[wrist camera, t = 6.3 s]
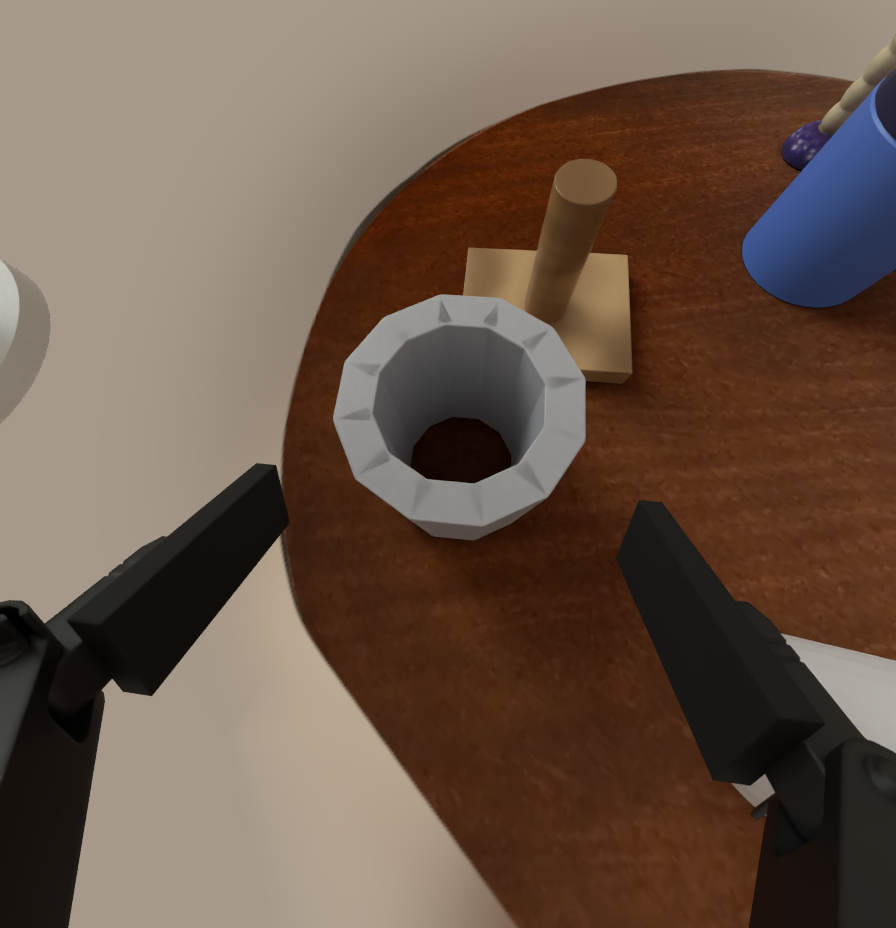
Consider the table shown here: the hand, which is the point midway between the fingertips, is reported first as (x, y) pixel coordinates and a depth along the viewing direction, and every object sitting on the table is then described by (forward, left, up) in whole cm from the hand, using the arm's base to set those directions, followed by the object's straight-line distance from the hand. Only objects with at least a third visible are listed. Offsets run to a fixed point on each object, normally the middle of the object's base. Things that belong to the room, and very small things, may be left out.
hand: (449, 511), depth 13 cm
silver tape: (0, +5, -10) cm, 11 cm away
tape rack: (+5, +17, -10) cm, 20 cm away
